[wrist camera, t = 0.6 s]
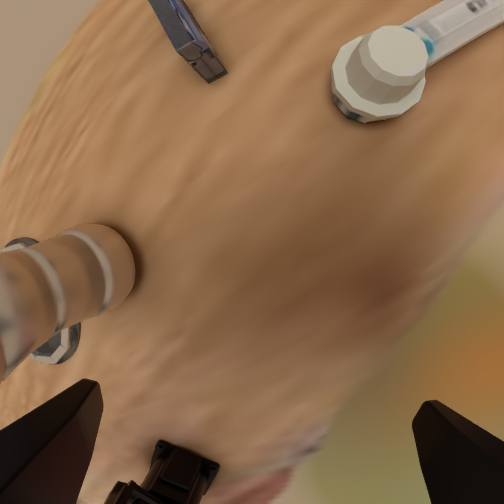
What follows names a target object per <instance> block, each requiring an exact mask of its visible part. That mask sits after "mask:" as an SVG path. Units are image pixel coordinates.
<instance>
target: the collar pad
mask: <svg viewBox="0 0 504 504" xmlns="http://www.w3.org/2000/svg"><path fill="white" fill-rule="evenodd" d="M37 243H39V242H38V241H36V240H33V239H30V238H19V239H15V240H13V241H11V242H9V243H8V244H7V245H6V246H5V247H4V248H2V249H1V251H0V253H1V252H6V251H12V250H16V249H21V248H26V247H29V246H31V245H34V244H37ZM79 338H80V322H79V323H76V324H74V325H72V326H70V327H68V328H66V329H64V330H62V331H60V332H59V333H57V334H56V335H55V336H53V337H52V338H50V339H49V340H48V341H47V342H45V343H44V344H42V345H41V346H40V347H38V348H37V349H36V350H34V351H33V352H32V353H31V354H30V355H29V357H30V358H31V359H32V360H34V361H35V362H38V363H47V364H60V363H62V362H65V361H66V360H67V359H69V358H70V357H71V356H72V355H73V354H74V352H75V350H76V348H77V346H78V343H79Z"/></svg>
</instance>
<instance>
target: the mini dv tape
mask: <svg viewBox="0 0 504 504" xmlns="http://www.w3.org/2000/svg"><path fill="white" fill-rule="evenodd" d="M148 1H149V3H150V4H151V6H152V8H153V10H154V12H155V13H156V15H157V17H158V19H159V21H160V22H161V24H162V26H163V28H164V30H165V31H166V33H167V35H168V37H169V39H170V40H171V42H172V44H173V46H174V48H175V50H176V51H177V52H178V53H179V54H180V55H181V56H182V57H183V58H184V59H185V60H186V61H187V62H188V63H189V64H190V65H191V66H192V67H193V68H194V69H195V70H196V71H197V72H198V73H199V74H200V75H201V76H202V78H203V79H204V80H205V81H206V82H207V83H208V84H209V83H210V82H212V81H214V80H216V79H218V78H219V77H221V76H223V75H225V74H227V73H228V72H227V71H226V69H225V67H224V66H223V64H222V62H221V61H220V59H219V57H218V55H217V54H216V52H215V50H214V49H213V47H212V45H211V44H210V42H209V41H208V39H207V37H206V36H205V34H204V32H203V31H202V29H201V28H200V26H199V24H198V23H197V21H196V20H195V18H194V16H193V15H192V13H191V12H190V10H189V9H188V7H187V5H186V4H185V2H184V1H183V0H148Z"/></svg>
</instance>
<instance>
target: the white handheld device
mask: <svg viewBox="0 0 504 504" xmlns="http://www.w3.org/2000/svg"><path fill="white" fill-rule="evenodd" d="M502 23H504V0H444V1H442V2H440V3H438V4H436V5H435V6H433V7H431V8H429V9H427V10H426V11H424V12H422V13H420V14H419V15H417V16H415V17H414V18H412V19H410V20H409V21H407V22H405V23H404V24H402V25H400V26H382V27H380V28H377V29H376V30H374V31H372V32H370V33H368V34H367V35H365V36H359V37H357V38H356V39H354V40H352V41H350V42H349V43H347V44H345V45H344V46H342V47H341V49H340V51H339V53H338V55H337V57H336V59H335V61H334V63H333V65H332V67H331V70H330V73H331V79H332V83H331V88H332V94H333V101H334V103H335V104H336V105H337V106H338V107H339V109H340V110H341V111H342V112H343V113H344V114H345V115H346V116H347V117H349V118H352V119H355V120H358V121H360V122H363V123H366V122H369V121H376V120H384V121H385V120H386V119H387V118H394V117H399V116H400V115H401V114H403V113H404V112H405V111H407V110H408V109H409V108H410V107H412V106H413V105H414V104H416V103H417V102H418V101H420V98H421V95H422V92H423V89H424V85H425V82H426V79H425V75H424V74H425V71H426V69H427V68H428V67H430V66H431V65H433V64H435V63H436V62H438V61H439V60H441V59H443V58H444V57H446V56H447V55H449V54H451V53H452V52H454V51H456V50H457V49H459V48H461V47H462V46H464V45H466V44H467V43H469V42H471V41H473V40H474V39H476V38H478V37H479V36H481V35H483V34H485V33H486V32H488V31H490V30H492V29H493V28H495V27H497V26H499V25H500V24H502Z"/></svg>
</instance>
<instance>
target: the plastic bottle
mask: <svg viewBox="0 0 504 504" xmlns="http://www.w3.org/2000/svg"><path fill="white" fill-rule="evenodd" d="M135 275H136V273H135V263H134V258H133V255H132V252H131V250H130V248H129V246H128V244H127V243H126V241H125V240H124V239H123V238H122V236H121V235H120V234H118V233H117V232H116V231H115V230H113V229H112V228H110V227H108V226H105V225H99V224H86V223H85V224H79V225H77V226H74V227H72V228H69V229H67V230H65V231H63V232H61V233H60V234H58V235H56V236H55V237H52V238H50V239H47V240H44V241H42V242H39V243H37V244H34V245H31V246H29V247H26V248H21V249H16V250H12V251H6V252H1V253H0V384H1V382H2V381H3V380H5V378H6V377H7V376H8V375H9V374H10V373H11V372H12V371H13V370H14V369H15V368H16V367H17V366H18V365H19V364H20V363H21V362H23V361H24V360H25V359H26V358H27V357H28V356H29V355H30V354H31V353H32V352H33V351H34V350H36V349H37V348H38V347H40V346H41V345H42V344H44V343H45V342H47V341H48V340H49V339H50V338H52V337H53V336H55V335H56V334H57V333H59V332H60V331H62V330H64V329H66V328H68V327H70V326H72V325H74V324H76V323H79V322H81V321H83V320H85V319H87V318H90V317H95V316H99V315H102V314H104V313H106V312H109V311H111V310H113V309H115V308H117V307H118V306H119V305H120V304H121V303H122V302H123V300H124V299H125V298H126V297H127V296H128V295H129V293H130V292H131V290H132V288H133V285H134V282H135Z"/></svg>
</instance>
